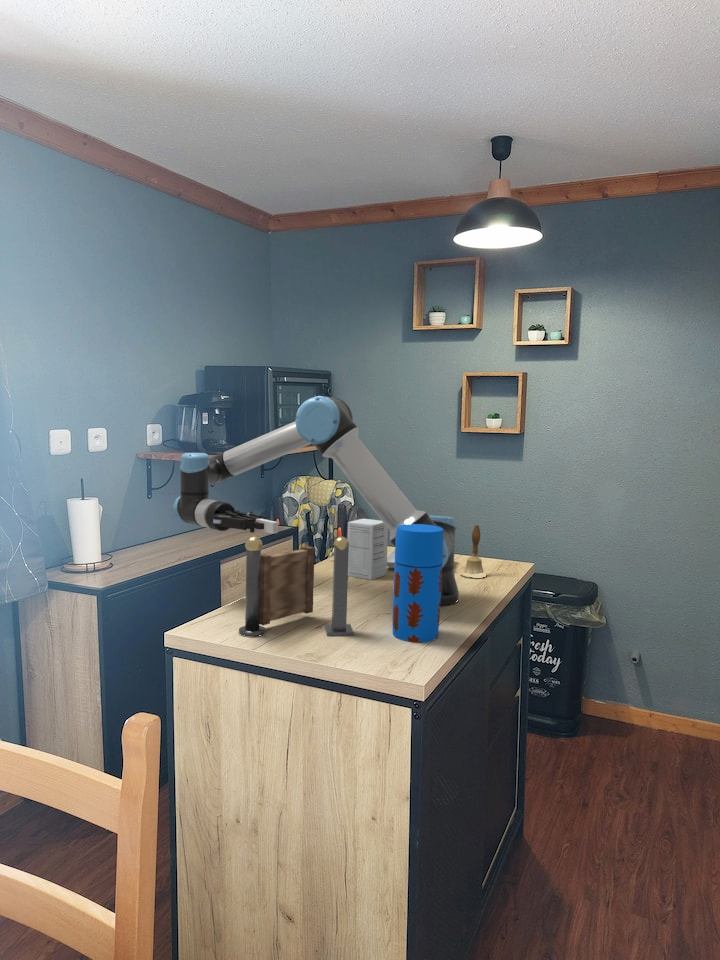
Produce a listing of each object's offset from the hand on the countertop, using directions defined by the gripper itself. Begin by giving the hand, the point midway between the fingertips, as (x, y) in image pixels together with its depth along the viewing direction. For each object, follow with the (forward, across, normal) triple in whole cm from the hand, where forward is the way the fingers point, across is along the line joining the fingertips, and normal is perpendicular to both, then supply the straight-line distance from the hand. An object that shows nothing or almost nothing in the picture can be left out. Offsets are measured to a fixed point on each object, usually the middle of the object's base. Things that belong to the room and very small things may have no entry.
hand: (275, 527), depth 174 cm
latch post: (+19, -3, -22) cm, 29 cm away
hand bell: (+10, -74, -22) cm, 78 cm away
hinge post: (+6, +12, -22) cm, 26 cm away
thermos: (+33, -15, -22) cm, 42 cm away
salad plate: (-9, -71, -22) cm, 75 cm away
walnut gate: (+6, +2, -20) cm, 21 cm away
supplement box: (-12, -49, -22) cm, 55 cm away
